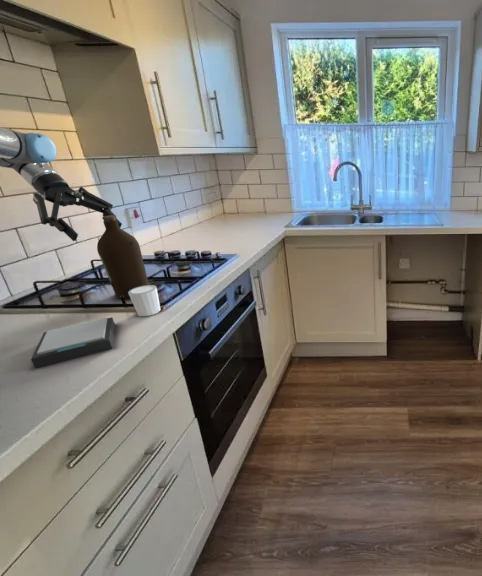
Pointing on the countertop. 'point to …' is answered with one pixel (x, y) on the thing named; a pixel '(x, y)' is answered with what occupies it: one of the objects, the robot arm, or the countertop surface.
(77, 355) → the scale
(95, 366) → the countertop surface
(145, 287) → the white faceted cylinder
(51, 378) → the countertop surface
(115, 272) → the olive oil
